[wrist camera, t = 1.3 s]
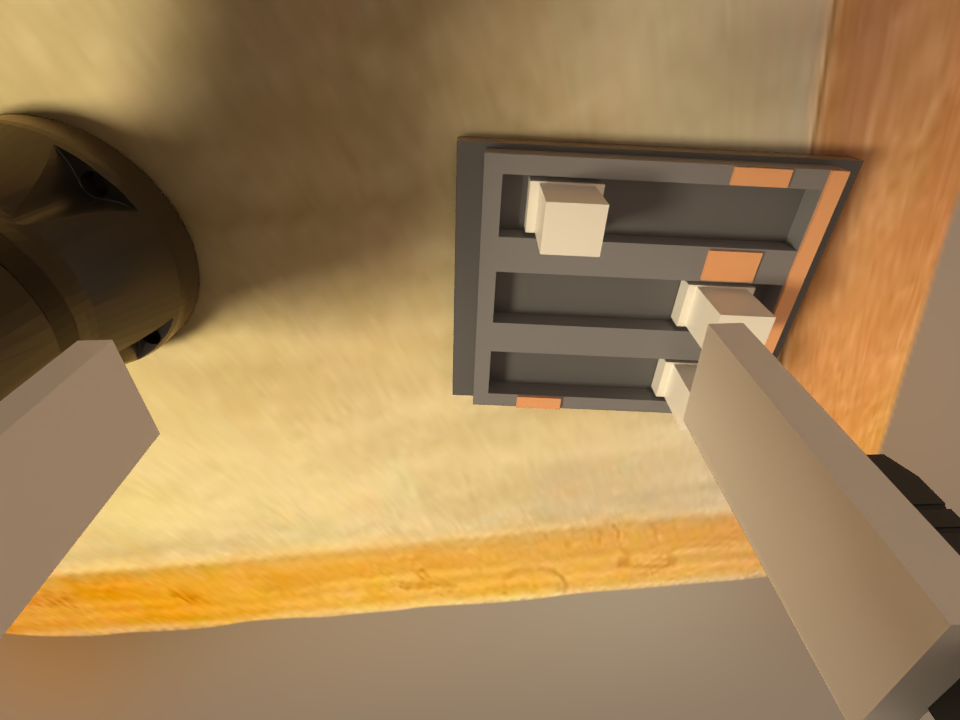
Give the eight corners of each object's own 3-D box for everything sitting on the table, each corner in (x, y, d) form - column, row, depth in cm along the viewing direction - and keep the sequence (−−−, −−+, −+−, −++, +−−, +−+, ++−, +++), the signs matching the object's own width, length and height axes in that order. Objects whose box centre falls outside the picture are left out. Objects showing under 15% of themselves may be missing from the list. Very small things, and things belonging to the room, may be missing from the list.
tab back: (651, 386, 35) (672, 431, 31) (660, 352, 34) (684, 395, 29) (707, 388, 35) (735, 433, 31) (719, 355, 34) (751, 398, 30)
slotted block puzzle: (453, 384, 37) (451, 408, 34) (458, 136, 28) (455, 145, 25) (747, 398, 37) (765, 422, 35) (849, 156, 28) (883, 167, 26)
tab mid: (670, 316, 32) (697, 356, 28) (682, 276, 31) (711, 312, 27) (732, 319, 32) (767, 360, 28) (746, 279, 31) (786, 316, 27)
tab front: (524, 225, 29) (529, 255, 25) (528, 175, 27) (535, 199, 23) (592, 229, 29) (609, 259, 25) (600, 179, 27) (620, 203, 23)
